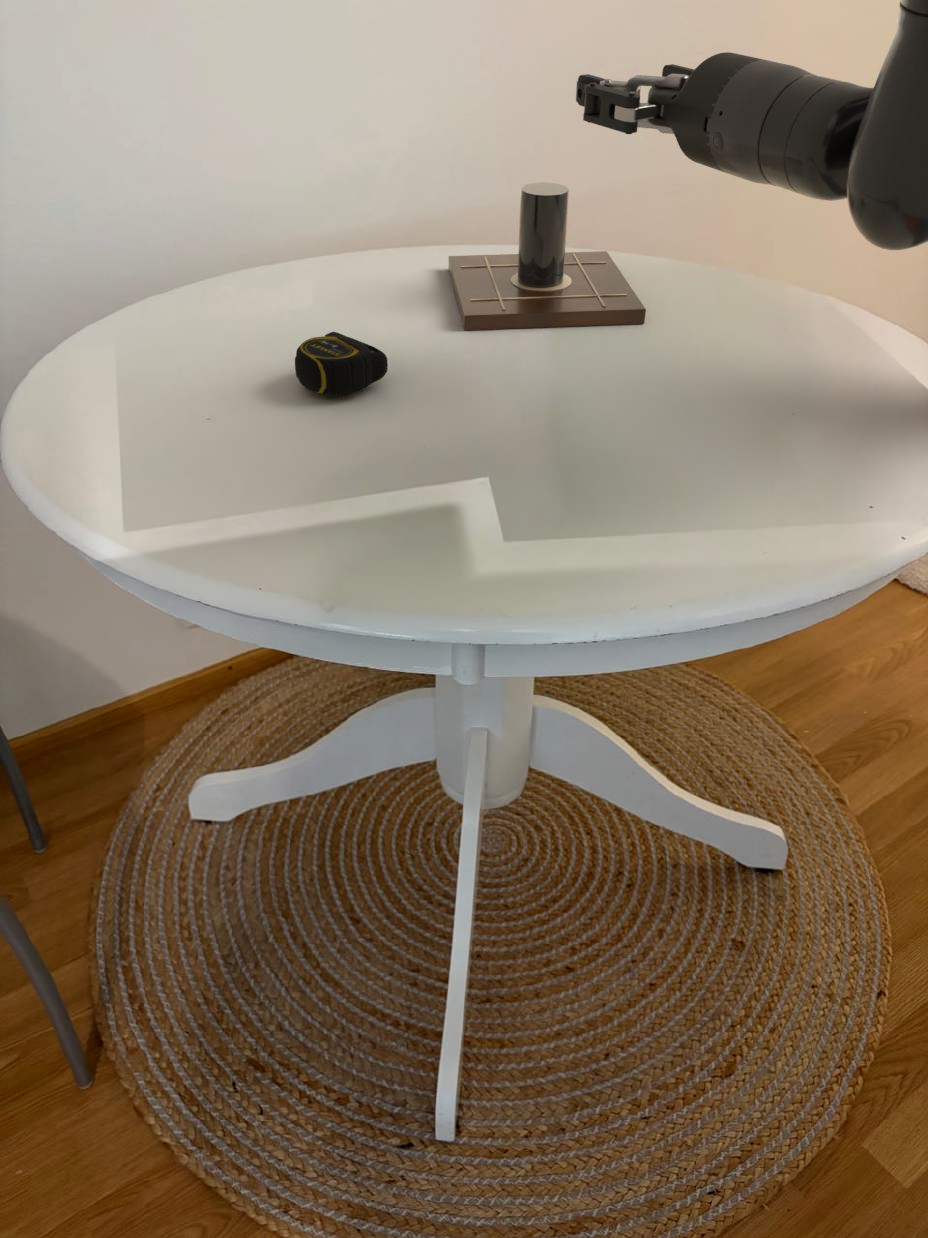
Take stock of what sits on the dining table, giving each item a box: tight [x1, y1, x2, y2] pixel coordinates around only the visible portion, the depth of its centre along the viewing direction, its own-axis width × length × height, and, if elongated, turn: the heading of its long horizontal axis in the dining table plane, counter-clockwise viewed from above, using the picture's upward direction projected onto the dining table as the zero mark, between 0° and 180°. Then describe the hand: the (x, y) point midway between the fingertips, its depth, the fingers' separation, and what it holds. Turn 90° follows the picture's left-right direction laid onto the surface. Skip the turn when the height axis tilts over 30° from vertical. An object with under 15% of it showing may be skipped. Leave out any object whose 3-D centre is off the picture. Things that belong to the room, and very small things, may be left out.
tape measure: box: [294, 331, 389, 397], centre depth 82 cm, size 7×7×4 cm
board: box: [448, 250, 647, 331], centre depth 100 cm, size 18×18×2 cm
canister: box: [517, 182, 570, 288], centre depth 97 cm, size 5×5×9 cm
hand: (623, 83), depth 80 cm, fingers open, 8 cm apart
